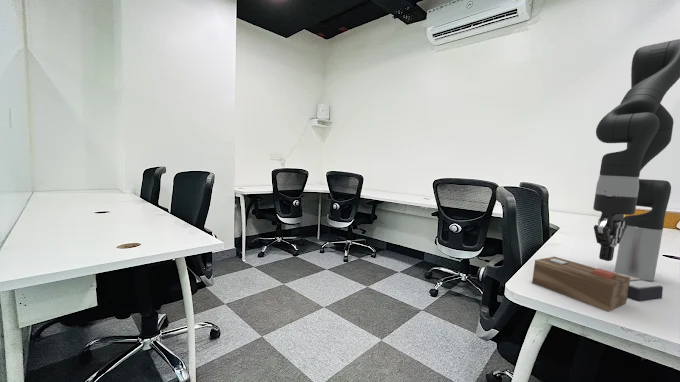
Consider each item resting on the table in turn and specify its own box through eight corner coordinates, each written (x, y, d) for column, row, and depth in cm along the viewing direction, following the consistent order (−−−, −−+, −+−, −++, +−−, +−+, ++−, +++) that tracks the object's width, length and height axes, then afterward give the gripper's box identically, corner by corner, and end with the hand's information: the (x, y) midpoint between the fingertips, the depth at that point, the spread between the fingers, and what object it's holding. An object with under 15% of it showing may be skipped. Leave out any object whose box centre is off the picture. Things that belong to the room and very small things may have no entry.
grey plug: (551, 280, 82) (554, 258, 81) (564, 285, 79) (567, 262, 78) (546, 282, 80) (549, 259, 80) (558, 287, 77) (562, 263, 77)
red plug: (594, 293, 73) (598, 268, 72) (610, 298, 70) (614, 273, 69) (589, 295, 71) (593, 269, 71) (605, 301, 68) (609, 274, 68)
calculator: (599, 266, 89) (664, 284, 75) (597, 279, 89) (662, 299, 75) (576, 268, 86) (639, 286, 72) (575, 281, 86) (638, 302, 72)
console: (551, 277, 85) (554, 256, 84) (626, 303, 70) (630, 277, 70) (532, 282, 80) (535, 260, 79) (608, 311, 65) (612, 283, 64)
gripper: (607, 192, 74) (598, 252, 76) (585, 192, 68) (575, 258, 70) (646, 195, 68) (635, 261, 70) (626, 196, 62) (614, 268, 63)
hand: (605, 259), depth 70 cm, fingers closed
